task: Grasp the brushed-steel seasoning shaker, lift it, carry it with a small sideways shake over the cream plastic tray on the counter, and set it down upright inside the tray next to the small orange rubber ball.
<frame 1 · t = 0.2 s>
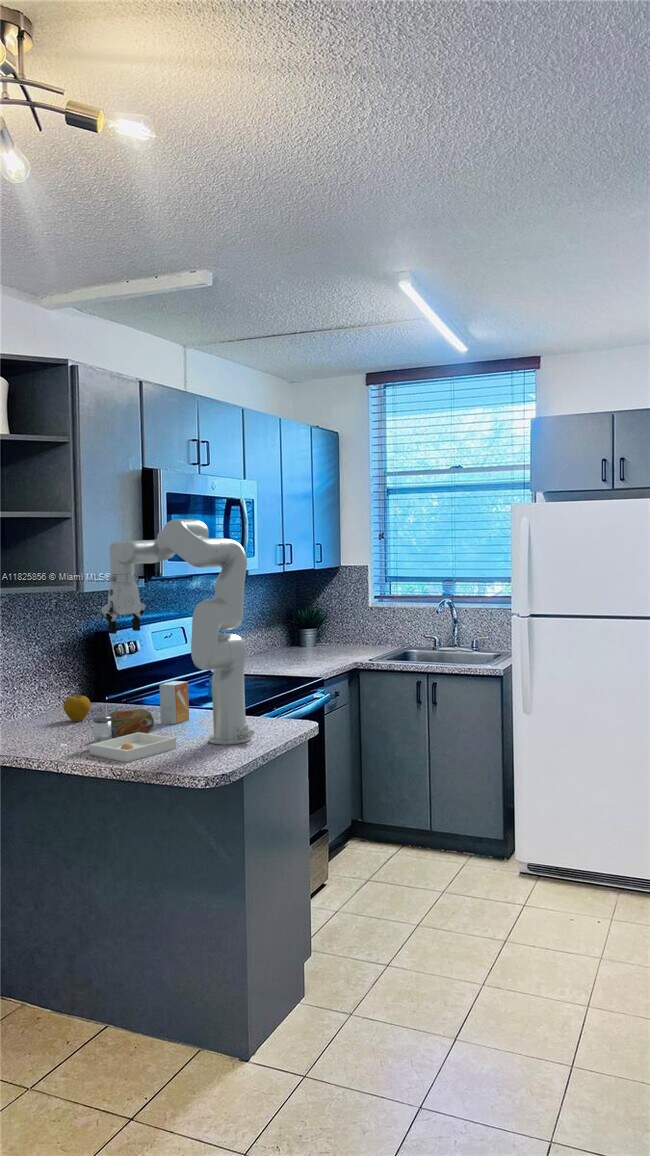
hand: (124, 632, 275), 31 cm above the counter, tool pointing down, fingers open, 9 cm apart
apple: (77, 721, 288), on the counter
shaker: (103, 747, 246), on the counter
tray: (133, 751, 239), on the counter
tin: (129, 737, 260), on the counter
ball: (127, 749, 232), point 2 cm above the counter, touching tray
small box: (175, 722, 281), on the counter
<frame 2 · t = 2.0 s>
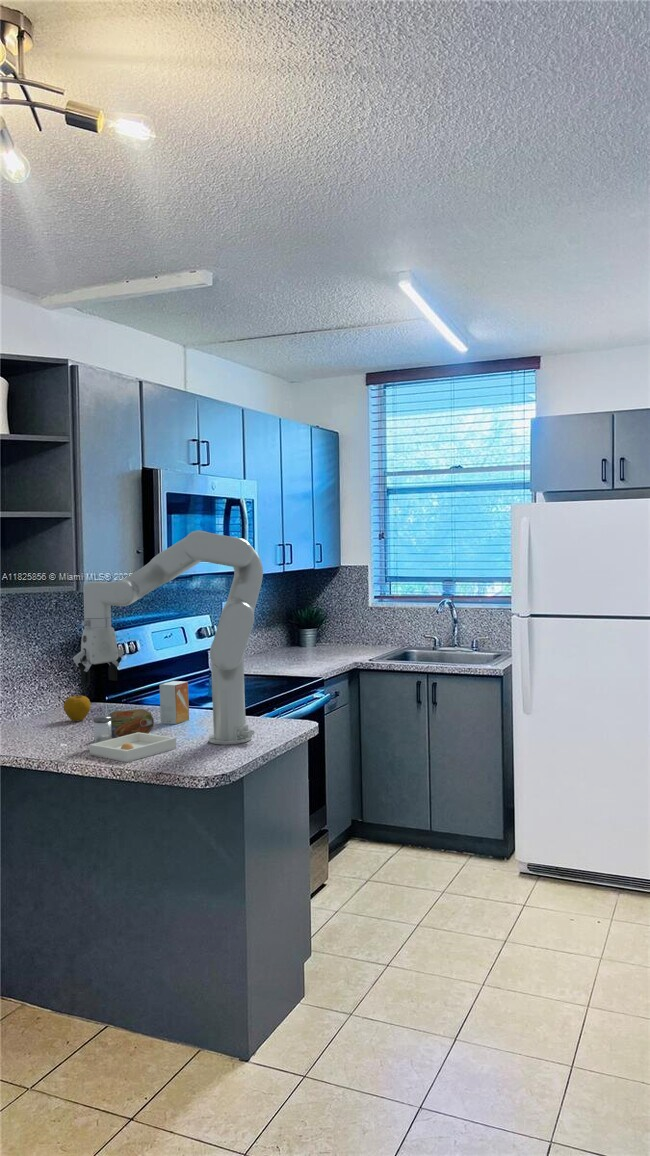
hand: (99, 682, 245), 19 cm above the counter, tool pointing down, fingers open, 9 cm apart
nothing on the counter moved.
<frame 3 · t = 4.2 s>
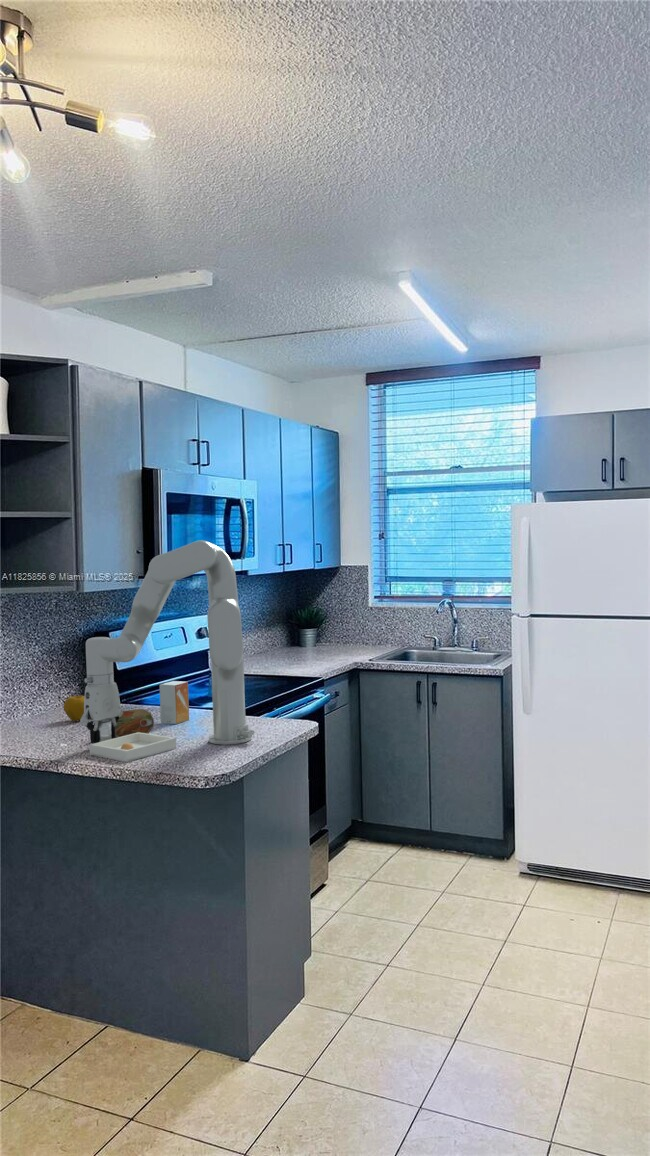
hand: (103, 741, 245), 2 cm above the counter, tool pointing down, fingers closed on shaker, 5 cm apart
shaker: (103, 747, 246), on the counter, touching gripper
everything else where it was.
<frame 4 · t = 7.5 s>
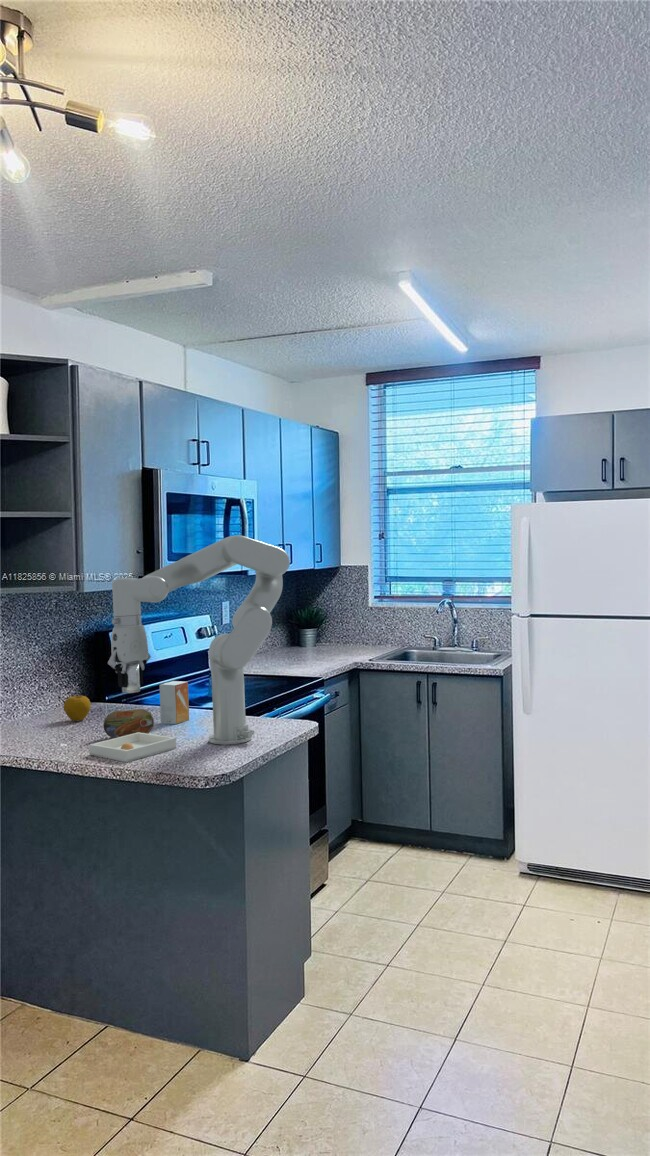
hand: (131, 684, 238), 19 cm above the counter, tool pointing down, fingers closed on shaker, 5 cm apart
shaker: (131, 691, 239), point 17 cm above the counter, touching gripper
everything else where it was.
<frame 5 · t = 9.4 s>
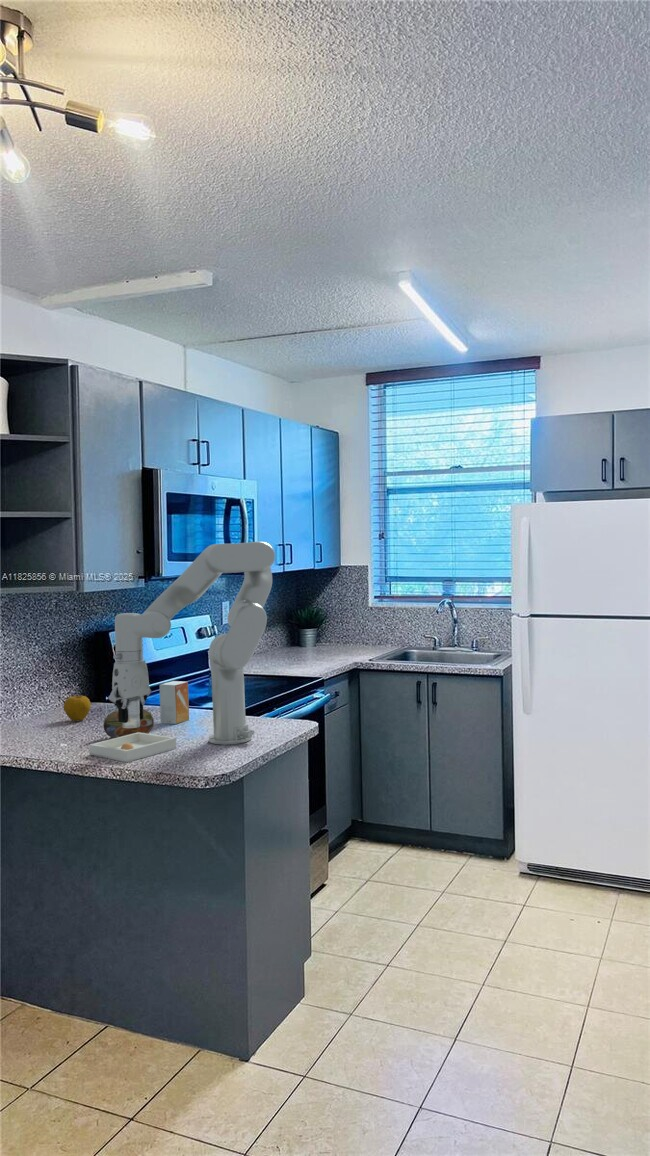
hand: (131, 719, 239), 9 cm above the counter, tool pointing down, fingers closed on shaker, 5 cm apart
shaker: (131, 726, 239), point 7 cm above the counter, touching gripper
everything else where it was.
when the fingers open (3 cm above the counter, at t = 10.9 s): shaker stays where it is, resting on tray.
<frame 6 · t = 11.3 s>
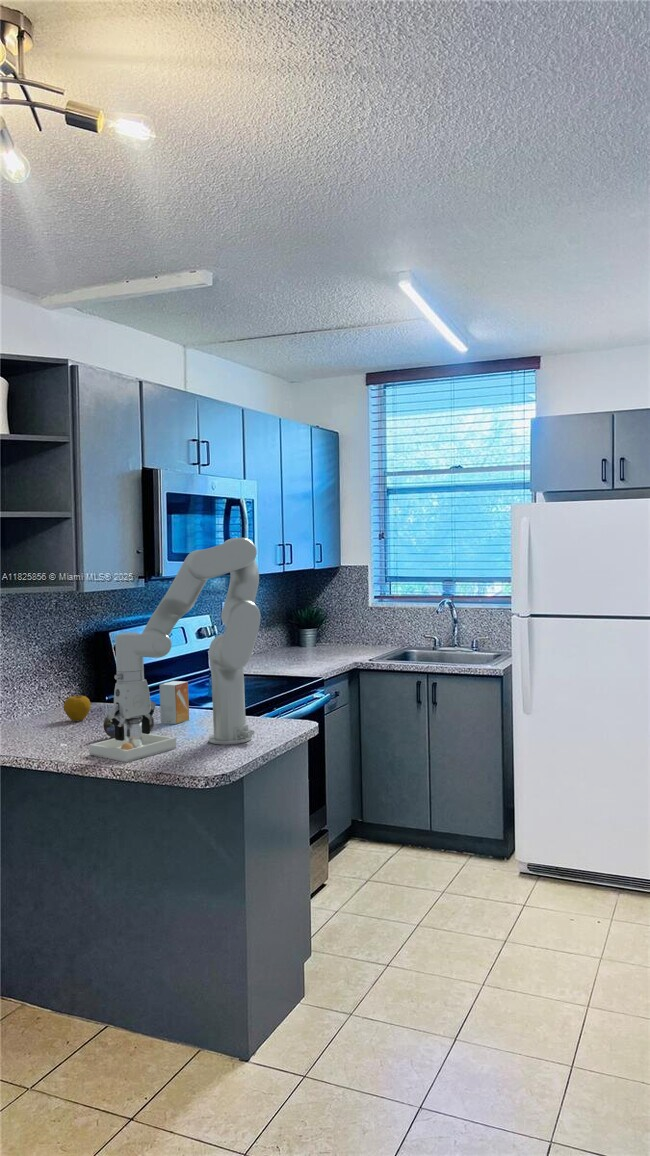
hand: (132, 736, 239), 4 cm above the counter, tool pointing down, fingers open, 9 cm apart
shaker: (133, 749, 239), point 1 cm above the counter, touching tray
everything else where it was.
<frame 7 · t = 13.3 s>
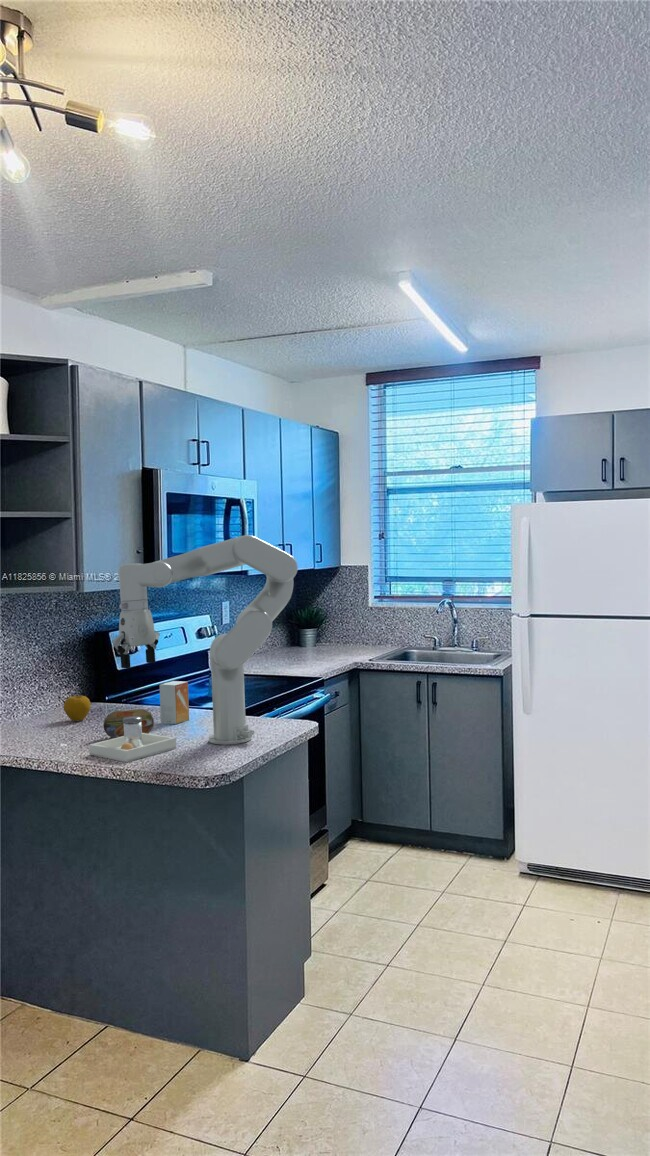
hand: (138, 665, 243), 24 cm above the counter, tool pointing down, fingers open, 9 cm apart
nothing on the counter moved.
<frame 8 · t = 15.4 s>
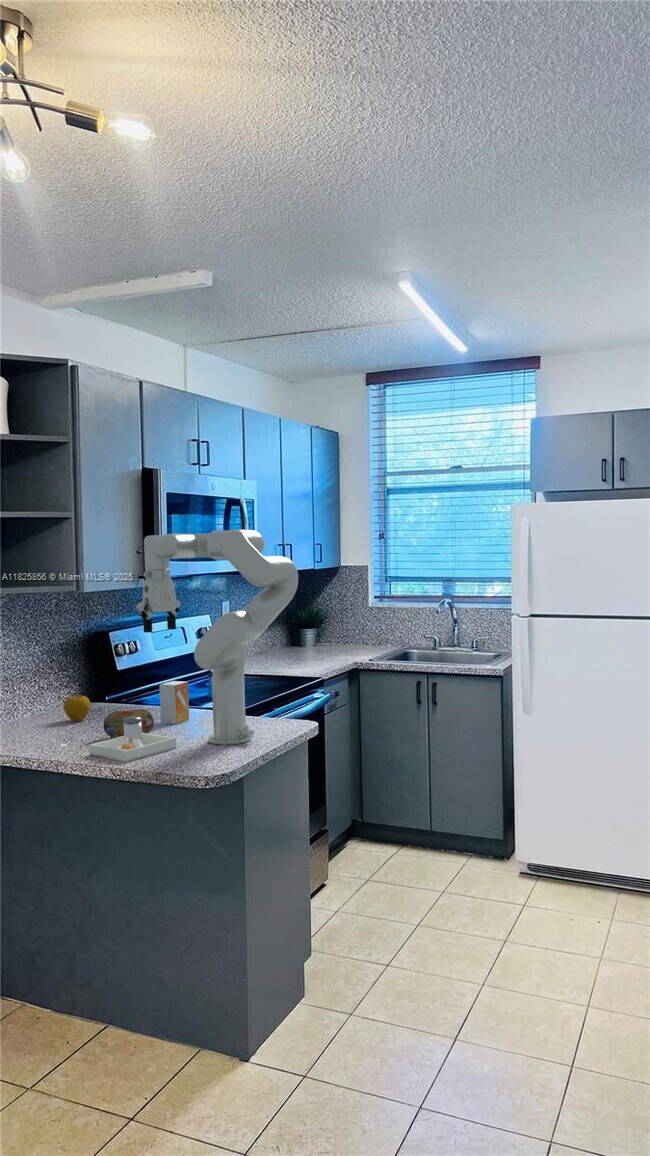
hand: (160, 630, 260), 32 cm above the counter, tool pointing down, fingers open, 9 cm apart
nothing on the counter moved.
at the end: shaker inside the target area on the tray (0.1 cm from its centre), point 0.6 cm above the tray's base; shaker tilted 0°; the gripper is holding nothing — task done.
